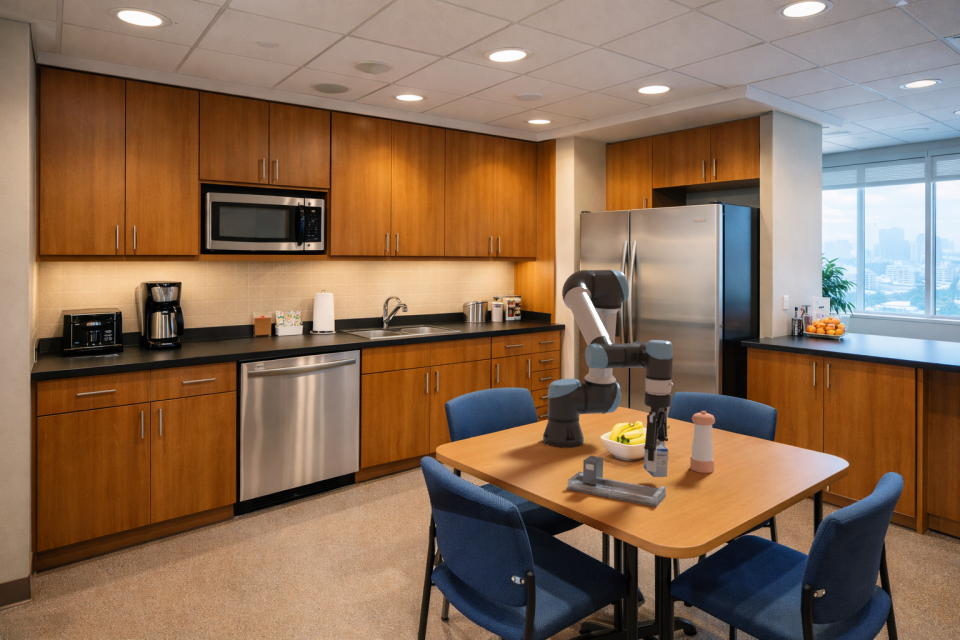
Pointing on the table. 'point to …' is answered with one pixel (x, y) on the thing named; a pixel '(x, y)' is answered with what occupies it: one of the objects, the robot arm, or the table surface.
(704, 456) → the pepper shaker
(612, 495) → the rail
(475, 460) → the table surface
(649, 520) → the table surface
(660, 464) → the medicine box
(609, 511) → the table surface
